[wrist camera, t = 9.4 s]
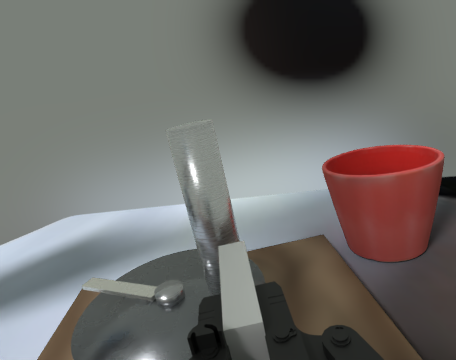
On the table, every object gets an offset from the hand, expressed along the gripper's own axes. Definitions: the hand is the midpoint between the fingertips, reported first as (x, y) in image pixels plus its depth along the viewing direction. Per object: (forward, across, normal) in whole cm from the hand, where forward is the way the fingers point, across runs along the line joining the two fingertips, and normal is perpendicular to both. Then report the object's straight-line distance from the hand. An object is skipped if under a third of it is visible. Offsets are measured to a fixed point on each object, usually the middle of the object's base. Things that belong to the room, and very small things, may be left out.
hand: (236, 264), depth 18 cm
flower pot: (+14, +16, -10) cm, 24 cm away
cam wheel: (+8, -7, -8) cm, 13 cm away
